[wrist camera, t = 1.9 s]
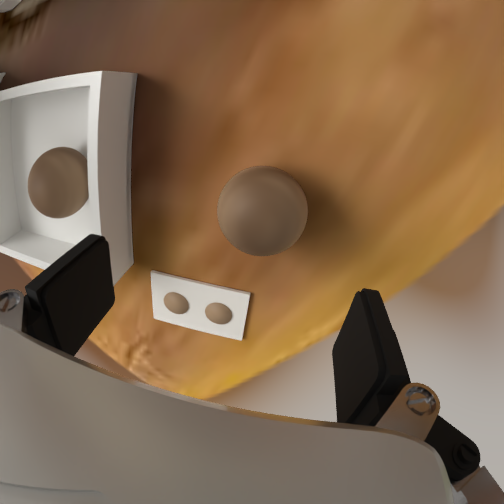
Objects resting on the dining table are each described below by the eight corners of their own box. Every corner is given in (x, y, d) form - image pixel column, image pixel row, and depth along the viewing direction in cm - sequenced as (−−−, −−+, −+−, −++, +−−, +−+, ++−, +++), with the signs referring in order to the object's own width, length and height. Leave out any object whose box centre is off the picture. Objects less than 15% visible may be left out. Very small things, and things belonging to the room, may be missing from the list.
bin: (137, 73, 16) (102, 70, 12) (133, 263, 23) (108, 291, 19) (12, 91, 17) (-20, 97, 13) (22, 232, 24) (-3, 250, 20)
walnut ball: (314, 167, 17) (319, 190, 13) (298, 240, 20) (296, 282, 15) (233, 152, 18) (210, 169, 13) (224, 225, 20) (202, 262, 16)
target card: (250, 292, 22) (249, 295, 22) (242, 338, 25) (241, 341, 24) (152, 269, 23) (150, 272, 22) (155, 316, 25) (153, 319, 25)
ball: (106, 141, 18) (58, 157, 13) (107, 207, 20) (65, 236, 16) (58, 140, 18) (11, 155, 14) (61, 199, 20) (20, 224, 16)
